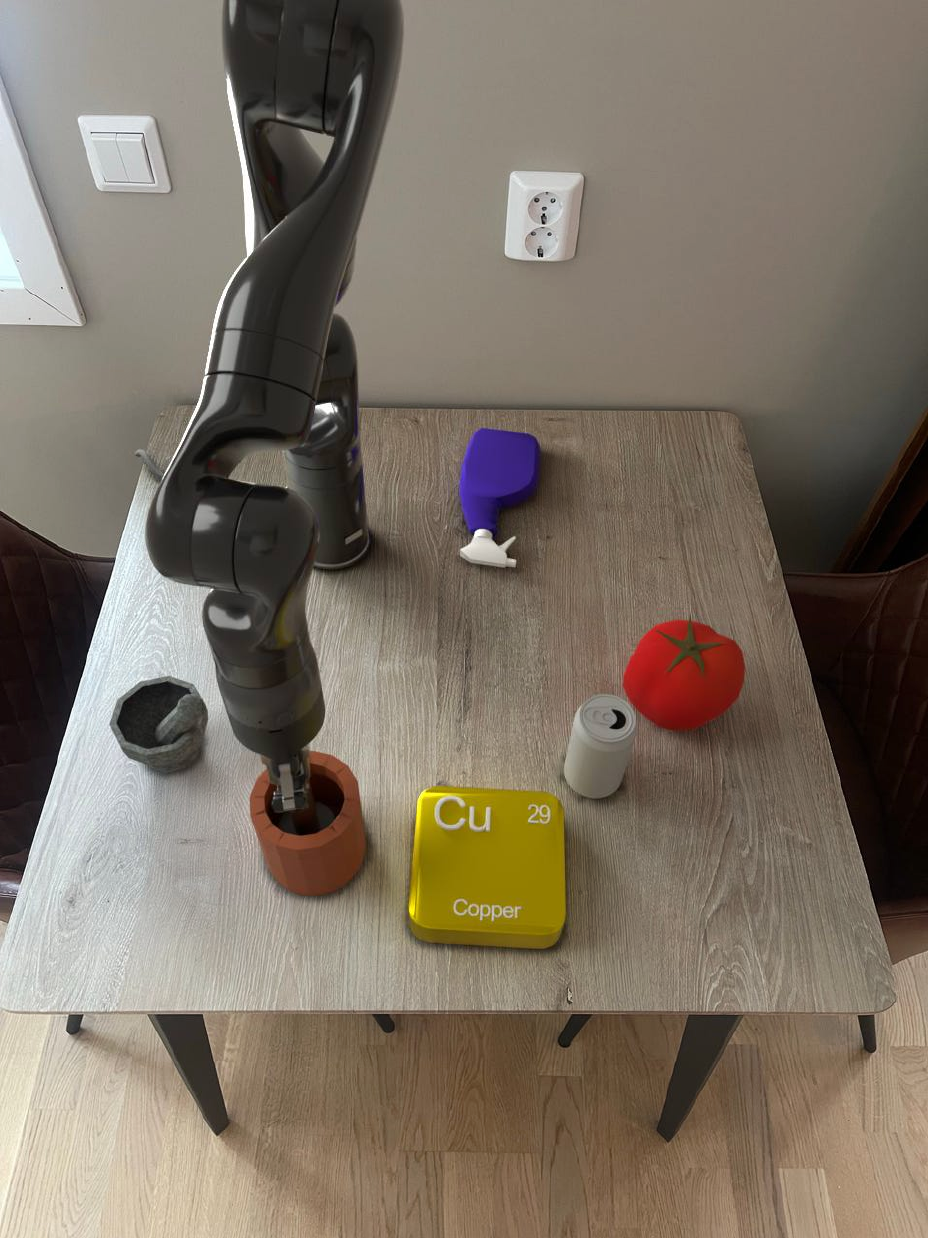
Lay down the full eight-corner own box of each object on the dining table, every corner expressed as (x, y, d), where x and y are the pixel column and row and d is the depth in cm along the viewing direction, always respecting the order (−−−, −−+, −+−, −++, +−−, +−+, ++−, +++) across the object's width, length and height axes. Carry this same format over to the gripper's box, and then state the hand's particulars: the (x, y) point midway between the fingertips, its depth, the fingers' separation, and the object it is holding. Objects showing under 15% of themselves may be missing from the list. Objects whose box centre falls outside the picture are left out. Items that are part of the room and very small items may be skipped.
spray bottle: (469, 424, 133) (442, 550, 118) (545, 433, 132) (527, 561, 118) (468, 439, 135) (442, 565, 121) (543, 448, 135) (525, 576, 120)
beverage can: (618, 807, 99) (637, 750, 90) (558, 795, 100) (572, 737, 91) (623, 756, 103) (642, 696, 94) (566, 745, 104) (580, 685, 95)
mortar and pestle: (109, 768, 101) (76, 708, 91) (156, 701, 106) (129, 637, 97) (200, 802, 98) (176, 744, 89) (243, 731, 104) (224, 670, 95)
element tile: (407, 942, 90) (406, 925, 86) (419, 802, 99) (418, 781, 95) (561, 951, 90) (567, 934, 86) (559, 810, 99) (564, 789, 95)
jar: (245, 859, 95) (226, 809, 86) (311, 786, 100) (299, 733, 91) (322, 916, 91) (310, 870, 83) (385, 837, 97) (381, 787, 88)
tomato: (607, 662, 111) (623, 601, 102) (716, 656, 112) (741, 595, 103) (628, 751, 104) (646, 694, 95) (744, 743, 105) (773, 686, 96)
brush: (271, 850, 93) (245, 771, 80) (308, 808, 95) (289, 726, 83) (314, 881, 91) (295, 805, 78) (350, 837, 94) (337, 757, 81)
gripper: (219, 620, 75) (252, 733, 88) (223, 771, 66) (259, 870, 80) (312, 609, 76) (331, 722, 89) (328, 755, 67) (346, 856, 81)
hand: (297, 792), depth 84 cm, fingers closed on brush, 2 cm apart
